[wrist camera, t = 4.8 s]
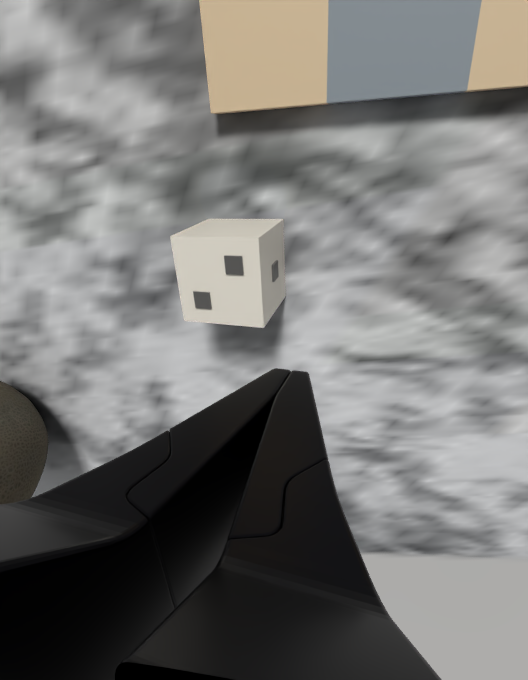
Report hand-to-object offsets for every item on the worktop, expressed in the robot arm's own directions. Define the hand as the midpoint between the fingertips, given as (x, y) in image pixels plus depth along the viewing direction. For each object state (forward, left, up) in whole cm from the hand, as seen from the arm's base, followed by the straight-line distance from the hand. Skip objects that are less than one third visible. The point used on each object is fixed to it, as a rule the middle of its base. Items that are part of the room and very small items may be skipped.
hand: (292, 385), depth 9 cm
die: (+5, 0, -11) cm, 12 cm away
